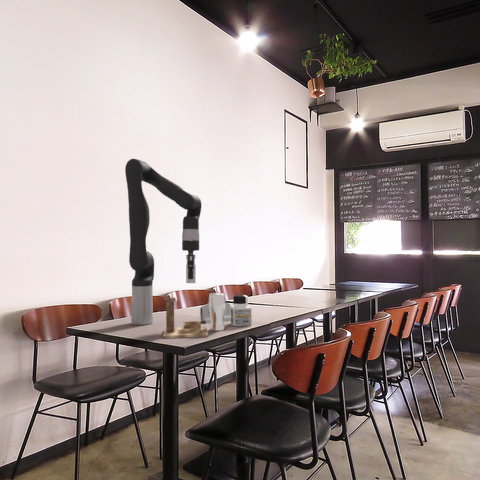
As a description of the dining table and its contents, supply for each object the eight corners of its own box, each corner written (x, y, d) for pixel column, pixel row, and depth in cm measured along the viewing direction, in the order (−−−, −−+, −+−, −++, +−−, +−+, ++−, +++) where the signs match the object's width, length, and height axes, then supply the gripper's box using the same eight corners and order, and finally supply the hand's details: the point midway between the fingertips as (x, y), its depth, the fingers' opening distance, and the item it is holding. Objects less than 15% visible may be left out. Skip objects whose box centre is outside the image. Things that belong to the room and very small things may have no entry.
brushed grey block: (186, 283, 179) (186, 264, 180) (186, 282, 183) (186, 264, 184) (195, 283, 180) (195, 264, 180) (195, 282, 184) (195, 264, 184)
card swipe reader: (205, 323, 187) (201, 302, 190) (200, 325, 191) (197, 304, 194) (236, 319, 196) (232, 299, 200) (231, 322, 200) (227, 301, 203)
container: (234, 326, 179) (234, 296, 180) (230, 323, 187) (230, 294, 187) (251, 325, 181) (251, 295, 182) (246, 322, 189) (246, 293, 189)
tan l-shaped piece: (163, 338, 156) (162, 301, 156) (164, 330, 172) (164, 296, 172) (208, 336, 158) (207, 299, 159) (205, 328, 174) (205, 295, 174)
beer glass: (217, 327, 177) (216, 292, 177) (229, 329, 173) (228, 293, 173) (205, 330, 172) (205, 293, 172) (218, 331, 167) (217, 294, 168)
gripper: (182, 240, 189) (182, 277, 188) (182, 239, 175) (181, 280, 174) (198, 240, 190) (198, 277, 189) (199, 239, 176) (199, 279, 175)
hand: (190, 278), depth 182 cm, fingers closed on brushed grey block, 4 cm apart
